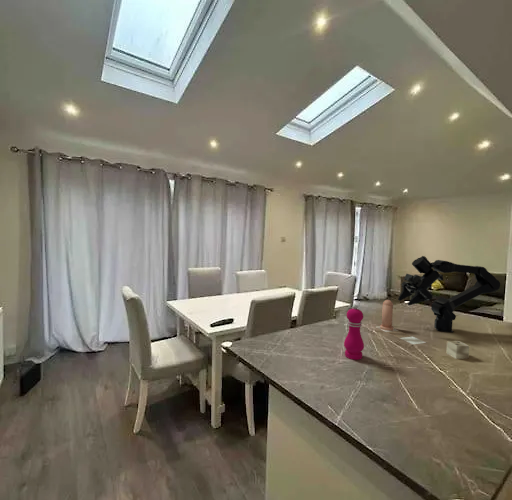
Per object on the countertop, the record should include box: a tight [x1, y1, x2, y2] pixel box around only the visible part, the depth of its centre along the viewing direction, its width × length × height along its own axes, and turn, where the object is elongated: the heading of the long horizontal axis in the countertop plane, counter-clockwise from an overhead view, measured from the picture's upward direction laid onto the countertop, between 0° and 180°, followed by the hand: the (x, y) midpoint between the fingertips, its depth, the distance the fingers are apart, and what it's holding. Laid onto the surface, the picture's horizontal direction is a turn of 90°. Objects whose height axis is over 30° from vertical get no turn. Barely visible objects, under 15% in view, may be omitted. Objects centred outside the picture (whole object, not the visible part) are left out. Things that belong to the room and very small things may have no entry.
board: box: [375, 325, 427, 347], centre depth 136 cm, size 25×9×1 cm, turn 17°
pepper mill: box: [343, 304, 365, 361], centre depth 111 cm, size 7×7×20 cm
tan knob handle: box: [379, 299, 395, 332], centre depth 143 cm, size 6×6×14 cm
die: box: [445, 340, 470, 360], centre depth 113 cm, size 5×5×5 cm
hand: (403, 302), depth 142 cm, fingers open, 9 cm apart
